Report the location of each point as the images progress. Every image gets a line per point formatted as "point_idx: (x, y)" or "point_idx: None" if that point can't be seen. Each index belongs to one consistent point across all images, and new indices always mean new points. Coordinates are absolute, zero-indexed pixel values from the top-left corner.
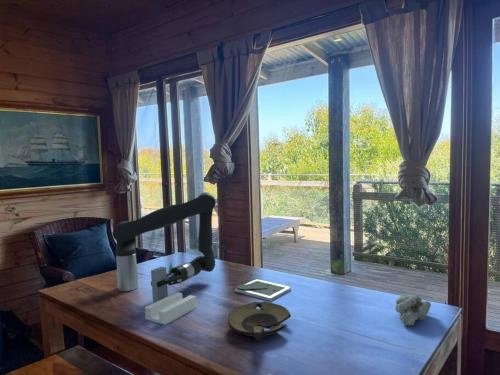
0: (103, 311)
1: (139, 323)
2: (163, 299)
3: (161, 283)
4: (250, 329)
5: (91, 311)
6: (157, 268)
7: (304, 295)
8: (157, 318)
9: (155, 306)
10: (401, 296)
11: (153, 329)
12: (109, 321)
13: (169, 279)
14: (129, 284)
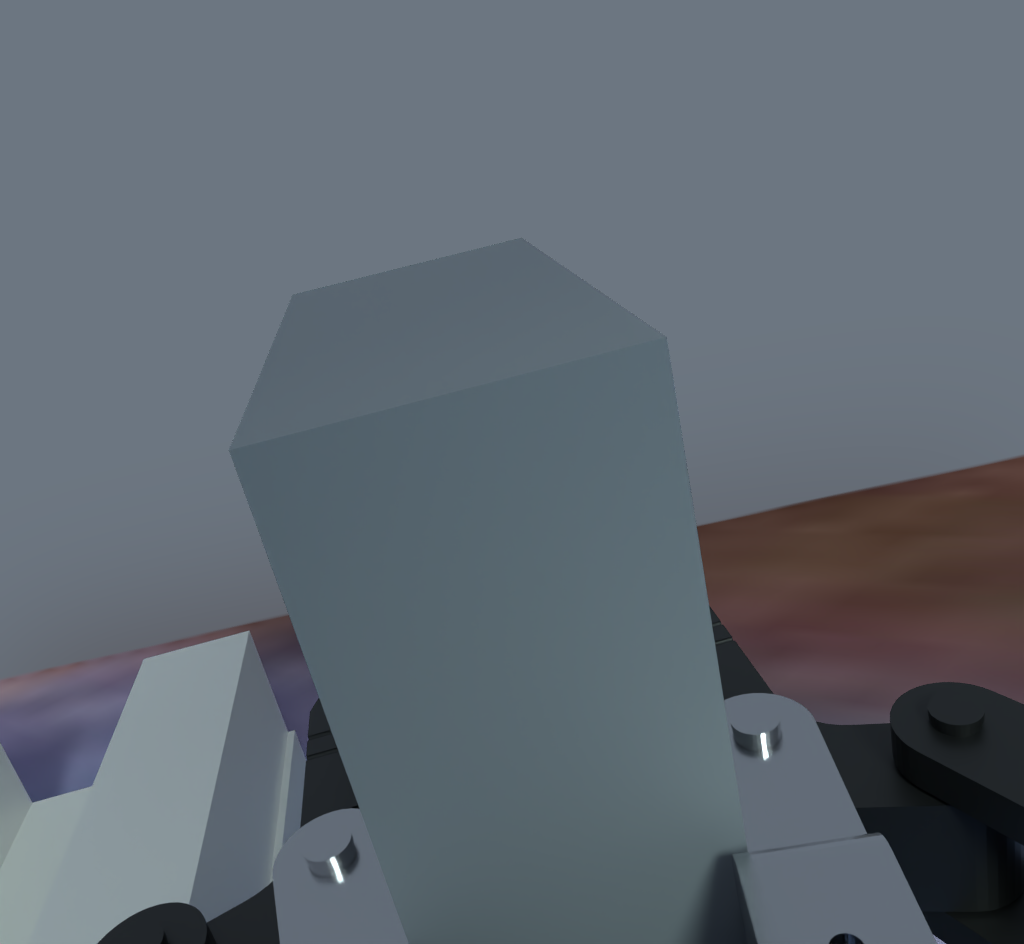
0: (931, 531)
1: (283, 698)
2: (154, 890)
3: (317, 748)
4: None
5: (1012, 473)
6: (532, 289)
7: None
8: (80, 802)
9: (122, 722)
10: None
11: (35, 751)
12: None
13: (123, 941)
14: None
